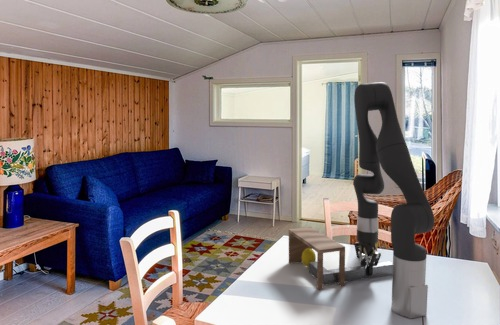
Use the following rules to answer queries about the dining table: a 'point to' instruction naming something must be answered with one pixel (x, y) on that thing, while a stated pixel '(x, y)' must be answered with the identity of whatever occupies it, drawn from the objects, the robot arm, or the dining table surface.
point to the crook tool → (352, 272)
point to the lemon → (308, 256)
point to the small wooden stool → (320, 244)
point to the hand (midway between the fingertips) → (366, 273)
